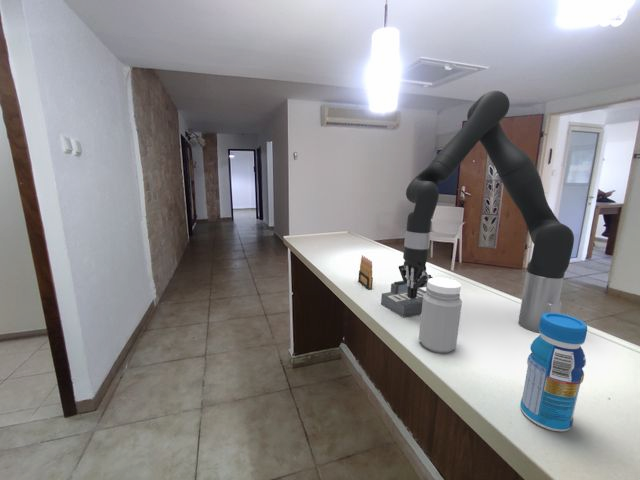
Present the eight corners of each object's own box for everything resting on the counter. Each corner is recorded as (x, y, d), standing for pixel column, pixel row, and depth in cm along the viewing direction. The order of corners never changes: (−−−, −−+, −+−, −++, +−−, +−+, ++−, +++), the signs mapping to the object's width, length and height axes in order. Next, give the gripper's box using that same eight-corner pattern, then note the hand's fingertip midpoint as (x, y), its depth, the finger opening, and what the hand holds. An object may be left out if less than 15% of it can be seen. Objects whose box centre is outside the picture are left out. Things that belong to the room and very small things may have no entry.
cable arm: (428, 288, 111) (429, 278, 110) (395, 294, 104) (396, 283, 104) (423, 286, 113) (424, 276, 112) (390, 291, 106) (391, 281, 106)
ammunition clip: (372, 289, 126) (374, 261, 124) (367, 290, 126) (369, 261, 124) (362, 281, 136) (363, 254, 134) (358, 281, 136) (359, 254, 134)
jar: (438, 334, 91) (445, 275, 88) (464, 351, 82) (473, 286, 79) (410, 338, 88) (416, 277, 84) (434, 357, 79) (442, 290, 75)
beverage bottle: (509, 407, 62) (525, 313, 58) (535, 396, 66) (552, 307, 62) (555, 440, 55) (577, 334, 51) (582, 425, 58) (605, 325, 54)
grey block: (442, 309, 109) (445, 282, 107) (403, 317, 101) (406, 288, 99) (418, 297, 120) (420, 272, 118) (380, 304, 112) (382, 277, 110)
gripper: (441, 249, 93) (435, 303, 97) (411, 240, 105) (406, 289, 108) (422, 251, 90) (417, 307, 94) (393, 242, 102) (389, 292, 105)
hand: (411, 297), depth 101 cm, fingers closed
